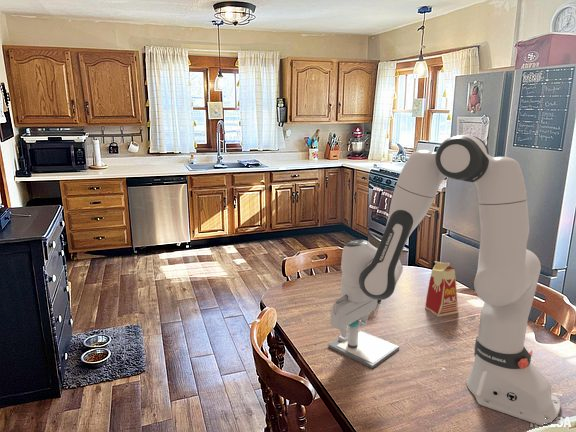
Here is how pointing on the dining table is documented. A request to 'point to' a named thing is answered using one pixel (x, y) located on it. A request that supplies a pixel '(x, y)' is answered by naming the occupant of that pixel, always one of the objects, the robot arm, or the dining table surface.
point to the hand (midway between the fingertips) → (353, 331)
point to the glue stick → (353, 335)
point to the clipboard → (365, 349)
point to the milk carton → (442, 290)
